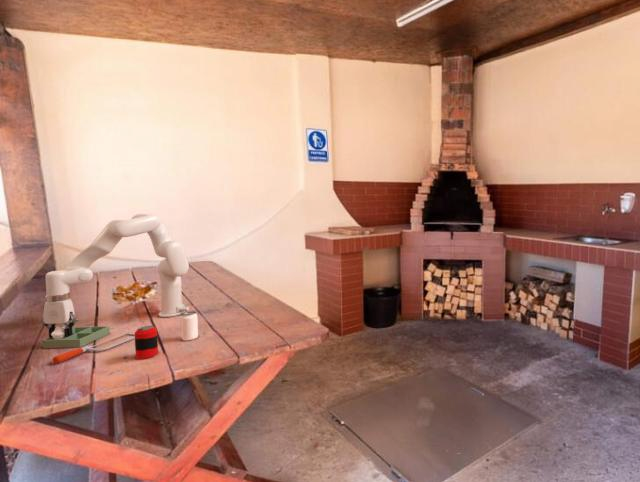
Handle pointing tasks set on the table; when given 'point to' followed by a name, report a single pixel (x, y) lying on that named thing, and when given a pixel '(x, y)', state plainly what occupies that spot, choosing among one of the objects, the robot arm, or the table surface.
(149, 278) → the table surface
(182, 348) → the table surface
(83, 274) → the robot arm
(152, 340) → the soda can
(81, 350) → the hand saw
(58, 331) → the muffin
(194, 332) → the can
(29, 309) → the table surface
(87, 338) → the tray
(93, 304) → the table surface
